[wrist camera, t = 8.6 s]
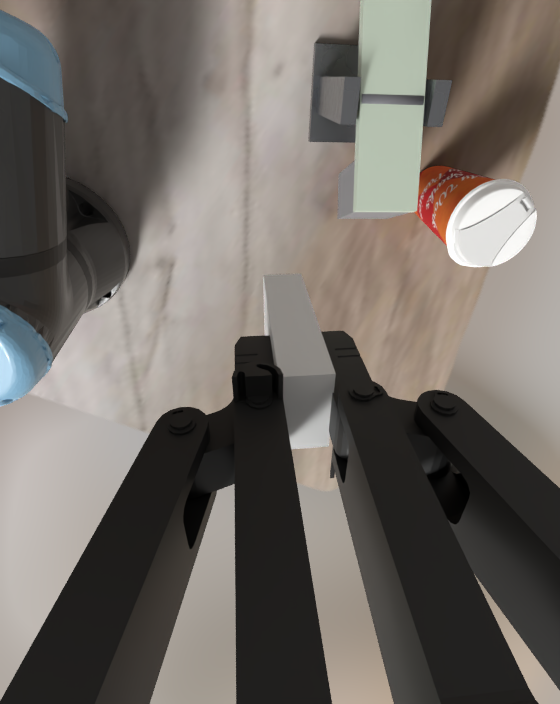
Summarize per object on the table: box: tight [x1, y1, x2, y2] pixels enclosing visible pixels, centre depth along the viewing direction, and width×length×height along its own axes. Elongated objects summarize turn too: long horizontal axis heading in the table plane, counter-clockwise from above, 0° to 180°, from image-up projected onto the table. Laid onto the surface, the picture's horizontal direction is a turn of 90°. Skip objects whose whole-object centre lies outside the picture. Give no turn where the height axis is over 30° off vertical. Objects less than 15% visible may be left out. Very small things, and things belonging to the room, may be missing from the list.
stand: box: [308, 43, 452, 142], centre depth 35 cm, size 9×8×12 cm
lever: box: [338, 0, 431, 219], centre depth 33 cm, size 5×21×8 cm, turn 179°
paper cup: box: [415, 166, 537, 267], centre depth 41 cm, size 8×8×14 cm
